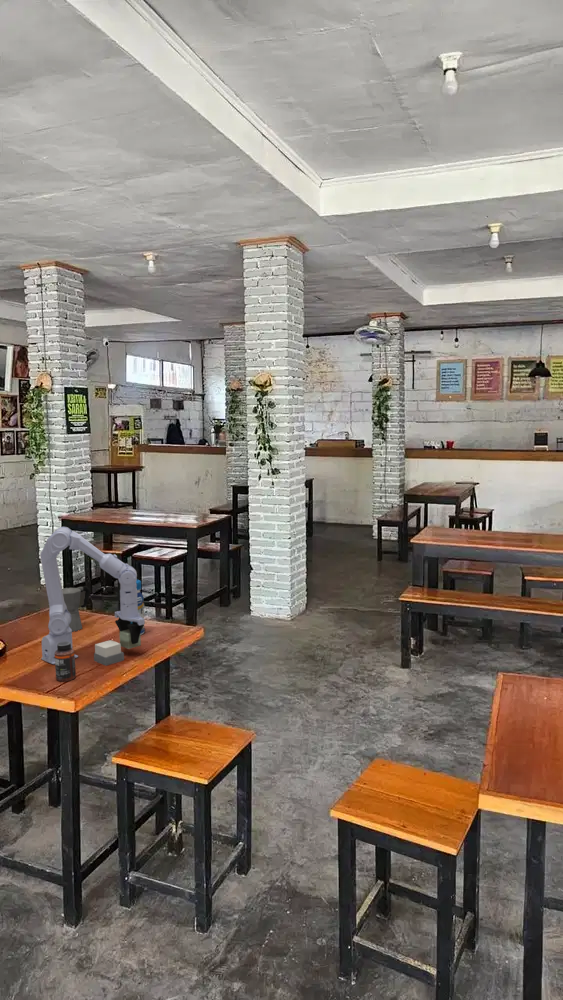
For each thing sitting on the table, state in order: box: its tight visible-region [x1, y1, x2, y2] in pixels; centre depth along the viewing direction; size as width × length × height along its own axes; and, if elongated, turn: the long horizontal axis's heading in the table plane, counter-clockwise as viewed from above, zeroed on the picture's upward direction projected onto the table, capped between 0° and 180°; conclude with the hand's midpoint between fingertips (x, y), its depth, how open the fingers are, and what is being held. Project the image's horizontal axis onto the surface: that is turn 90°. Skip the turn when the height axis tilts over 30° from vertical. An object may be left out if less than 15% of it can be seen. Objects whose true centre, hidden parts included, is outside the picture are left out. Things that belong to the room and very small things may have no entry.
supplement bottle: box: [54, 642, 77, 682], centre depth 218 cm, size 6×6×11 cm
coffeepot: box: [62, 582, 91, 633], centre depth 270 cm, size 15×9×18 cm, turn 133°
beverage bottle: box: [130, 579, 146, 636], centre depth 262 cm, size 8×8×20 cm
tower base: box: [93, 651, 125, 667], centre depth 234 cm, size 7×7×3 cm
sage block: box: [119, 629, 142, 650], centre depth 240 cm, size 5×5×5 cm
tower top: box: [94, 639, 122, 657], centre depth 234 cm, size 6×6×3 cm
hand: (130, 641), depth 240 cm, fingers closed on sage block, 5 cm apart
